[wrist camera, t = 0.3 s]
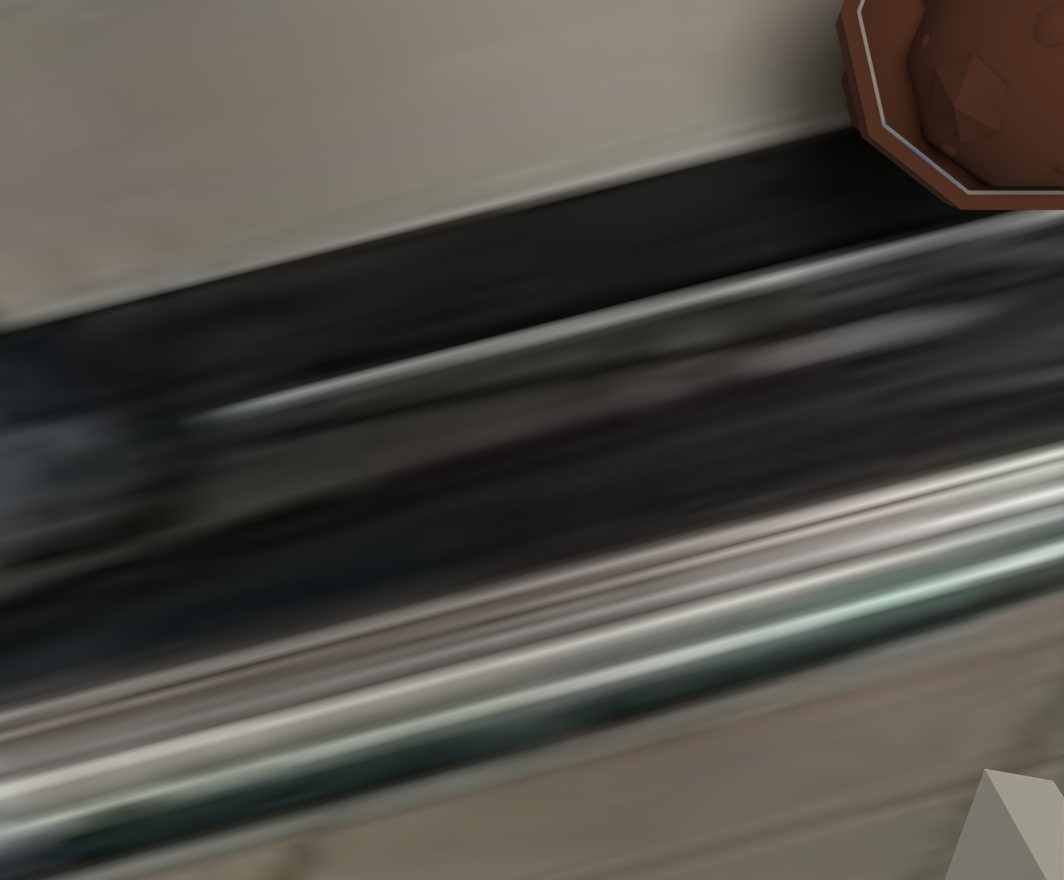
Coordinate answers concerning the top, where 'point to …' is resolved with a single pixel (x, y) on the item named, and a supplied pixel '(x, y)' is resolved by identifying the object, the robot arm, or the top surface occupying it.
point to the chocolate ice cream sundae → (962, 95)
